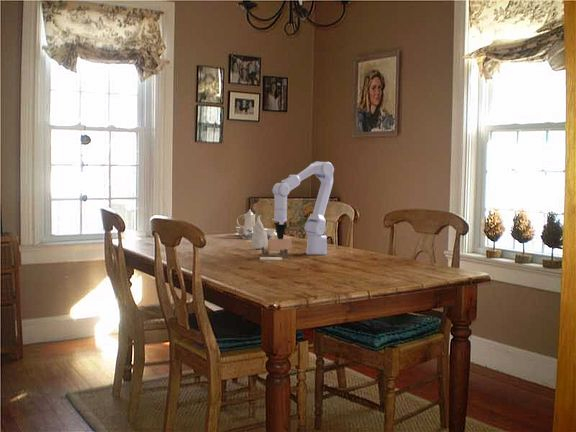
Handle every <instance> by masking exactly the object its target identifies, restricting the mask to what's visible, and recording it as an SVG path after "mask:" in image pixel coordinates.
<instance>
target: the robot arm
mask: <svg viewBox="0 0 576 432" xmlns="http://www.w3.org/2000/svg"><path fill="white" fill-rule="evenodd" d="M334 172H335V168H334V165H333V164H332V163H331V162H330V161H314V162H312V163H310V164H309V165H308V166H307V167H306V168H305V169H303V170H302V171H300V172H298V174H289V175H288V177H287V178H284V179H282V180H281V182H277V183H275V184H273V188H272V189H271V192H272V194H273V198H274V207H273V208H274V212H273V213H274V214H273V215H274V217H273V218H271V221H275V222H274V224H273V225H274V227H275V229H276V236H277V237H276V238H278V239H283V238H284V235H285V231H286V227H287V226H288V224H287V221H288V219H287V217H288V211H287V210H288V195H289V194H290V192H291V191H293V190H294V189H295V188H297V187H299V186H300V185H301V182H302V181H303V180H305V179H307V178H309V177H310V176H312V175H315V176H316V178H318V179H319V181H320V185H319V186H320V187H319V189H318V194H317V197H316V199H315V200H316V201H315V204H314V207H313V211H312V214H310V215H309V216H308V218H307V221H306V222H305V223H304V227H303V228H304V231H305V233H306V235H307V237H306V240H307V242H306V250H305V253H306V255H328V254H327V251H328V247H327V246H328V245H327V244H328V239H327V238H328V237H327V235H324V234H325V232H326V230H327V227H326V226H327V225H326V224H327V221H326V218H325V213H326V210H327V207H328V206H327V205H328V204H329V199H330V195H331V192H332V189H333V184H334Z"/></svg>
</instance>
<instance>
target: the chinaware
mask: <svg viewBox="0 0 576 432" xmlns="http://www.w3.org/2000/svg"><path fill="white" fill-rule="evenodd" d="M240 217H242V219H243V220H244V223H243V225H241V224H240V223H239V218H240ZM261 217H262V215H261V214H259V215H257V217H256V213H255V214H254V212H253V211H252V210H251V209H249V210H248V211H246V213H244V214H241V215H238V216H237V218H236V224H237V226H235V228H234V229H233V233H234V234H238V235H237V236H240V237H241V238H242V239H243V240H252V235H253V231H254V226H255V224H256V221H257V220H258V219H259V220H260V221H261ZM255 218H256V219H257V220H255ZM264 229H265V230H266V233H267V238H268V239H269V238H276V233H277V231H276V228H267V227H266V228H265V227H264ZM235 230H236V232H235ZM269 240H270V239H269Z"/></svg>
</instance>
